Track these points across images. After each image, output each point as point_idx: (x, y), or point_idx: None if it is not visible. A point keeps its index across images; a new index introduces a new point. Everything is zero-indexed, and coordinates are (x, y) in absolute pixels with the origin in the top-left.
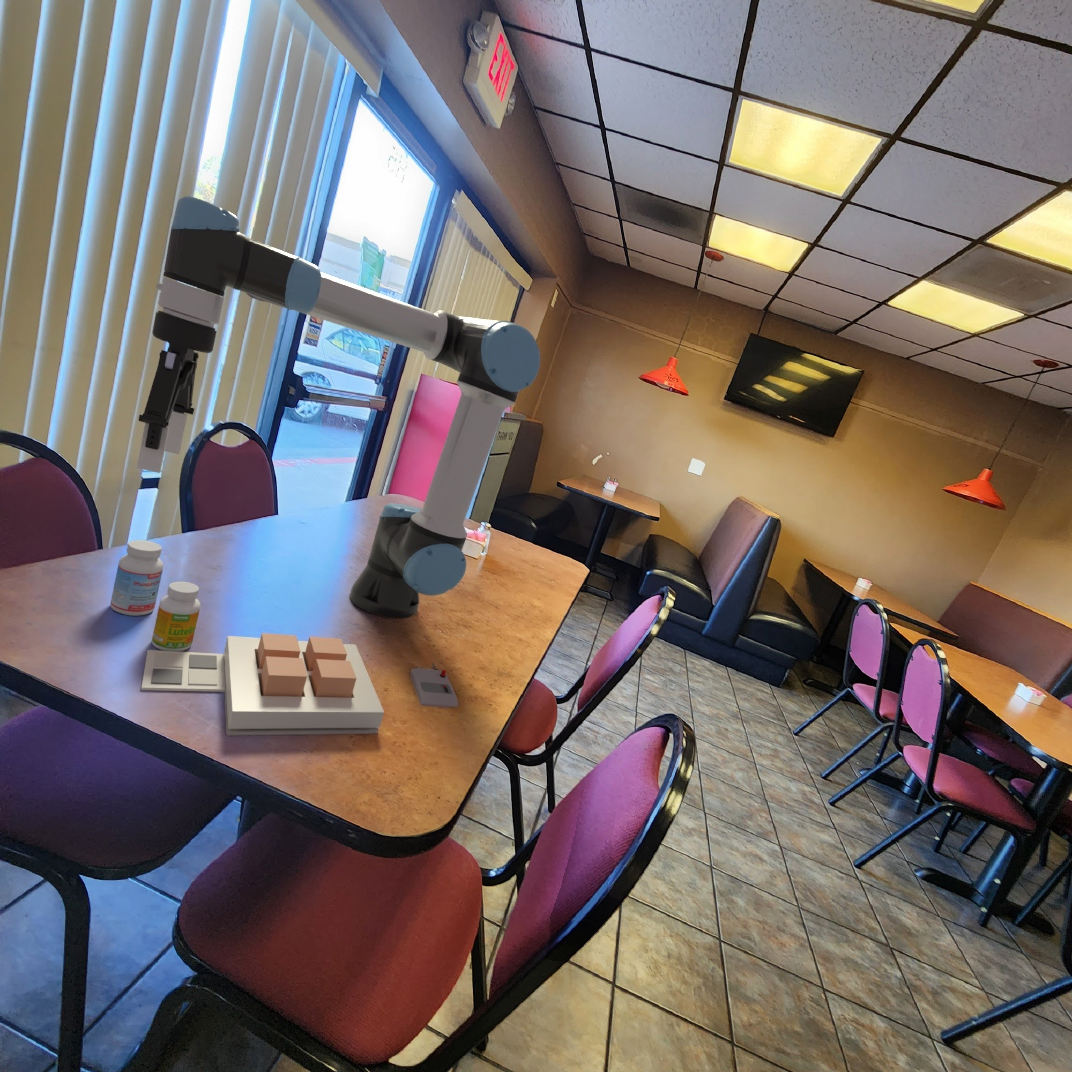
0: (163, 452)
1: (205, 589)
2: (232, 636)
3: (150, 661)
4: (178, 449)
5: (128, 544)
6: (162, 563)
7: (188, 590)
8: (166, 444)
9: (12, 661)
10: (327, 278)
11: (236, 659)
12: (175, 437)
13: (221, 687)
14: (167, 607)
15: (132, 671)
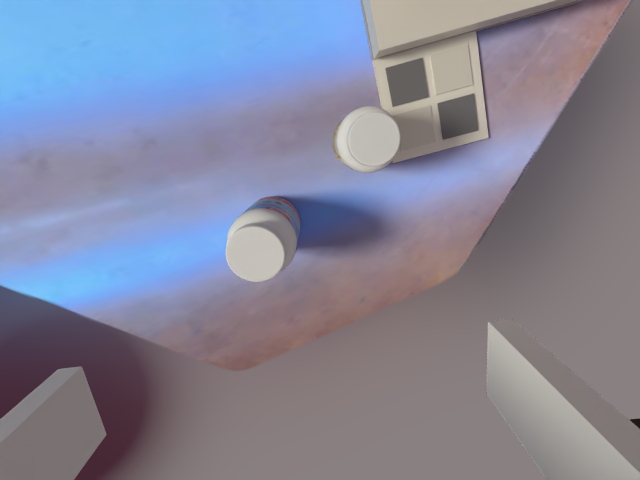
0: (585, 386)
1: (145, 152)
2: (378, 42)
3: (422, 149)
4: (66, 388)
5: (270, 278)
6: (251, 213)
7: (387, 127)
8: (77, 444)
9: (449, 276)
10: None
11: (457, 15)
12: (22, 463)
13: (470, 37)
14: (396, 153)
15: (444, 162)
